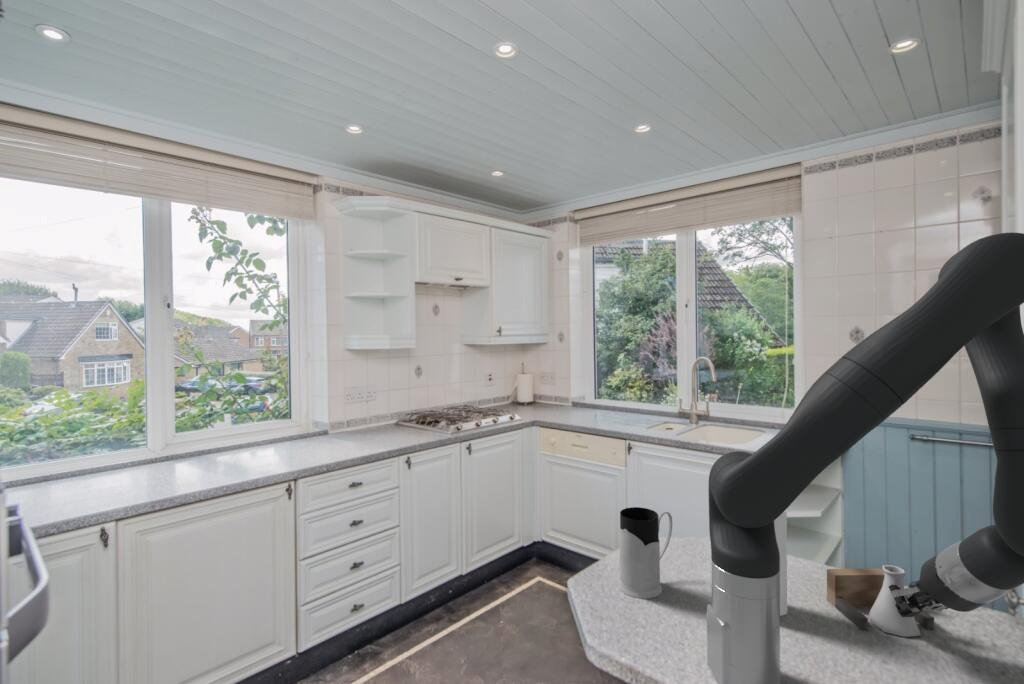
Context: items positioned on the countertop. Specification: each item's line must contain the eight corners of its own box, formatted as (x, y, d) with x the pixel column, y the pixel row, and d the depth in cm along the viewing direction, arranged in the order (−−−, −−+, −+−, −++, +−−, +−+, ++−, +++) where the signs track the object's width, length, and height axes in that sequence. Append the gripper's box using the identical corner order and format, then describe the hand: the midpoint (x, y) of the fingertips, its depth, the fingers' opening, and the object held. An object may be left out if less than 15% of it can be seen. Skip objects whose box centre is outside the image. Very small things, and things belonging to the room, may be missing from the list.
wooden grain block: (860, 629, 86) (860, 595, 86) (826, 599, 96) (826, 568, 95) (933, 629, 86) (934, 594, 86) (892, 599, 95) (892, 568, 95)
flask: (930, 641, 83) (930, 581, 83) (880, 635, 84) (880, 577, 84) (906, 616, 90) (906, 561, 90) (860, 612, 92) (860, 558, 91)
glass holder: (608, 584, 103) (607, 512, 102) (655, 565, 111) (654, 498, 110) (641, 603, 96) (640, 525, 95) (689, 581, 103) (688, 509, 103)
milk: (736, 605, 95) (734, 489, 94) (761, 598, 97) (759, 484, 96) (763, 622, 89) (761, 498, 88) (788, 614, 91) (786, 494, 91)
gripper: (996, 547, 75) (929, 586, 87) (906, 548, 75) (852, 587, 88) (1032, 602, 70) (955, 635, 82) (935, 603, 70) (874, 636, 82)
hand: (902, 610), depth 85 cm, fingers closed
